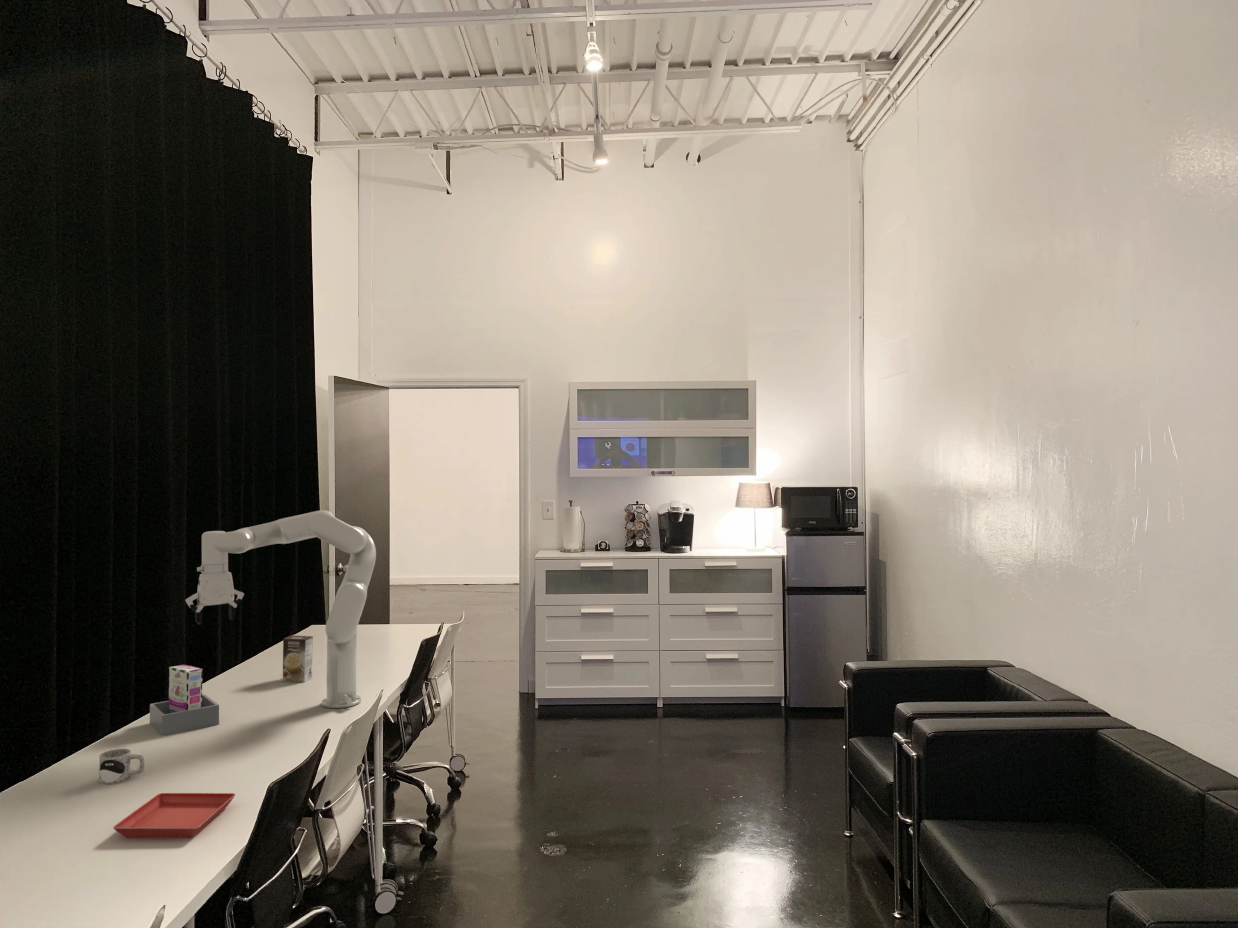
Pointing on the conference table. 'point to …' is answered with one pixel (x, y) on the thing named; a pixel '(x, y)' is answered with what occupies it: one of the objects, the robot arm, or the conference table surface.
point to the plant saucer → (174, 815)
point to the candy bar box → (185, 688)
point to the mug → (117, 766)
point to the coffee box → (297, 658)
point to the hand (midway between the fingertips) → (215, 621)
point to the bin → (183, 717)
